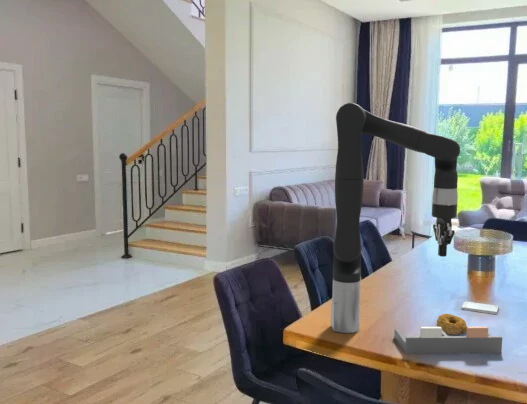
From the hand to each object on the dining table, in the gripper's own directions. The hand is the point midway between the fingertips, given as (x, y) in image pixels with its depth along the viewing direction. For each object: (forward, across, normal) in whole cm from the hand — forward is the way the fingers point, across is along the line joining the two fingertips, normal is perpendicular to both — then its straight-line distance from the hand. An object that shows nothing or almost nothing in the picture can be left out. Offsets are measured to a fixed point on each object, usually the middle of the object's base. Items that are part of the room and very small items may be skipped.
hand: (442, 256), depth 167 cm
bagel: (+27, -6, +7) cm, 29 cm away
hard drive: (+28, -28, +26) cm, 47 cm away
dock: (+27, +6, 0) cm, 28 cm away
